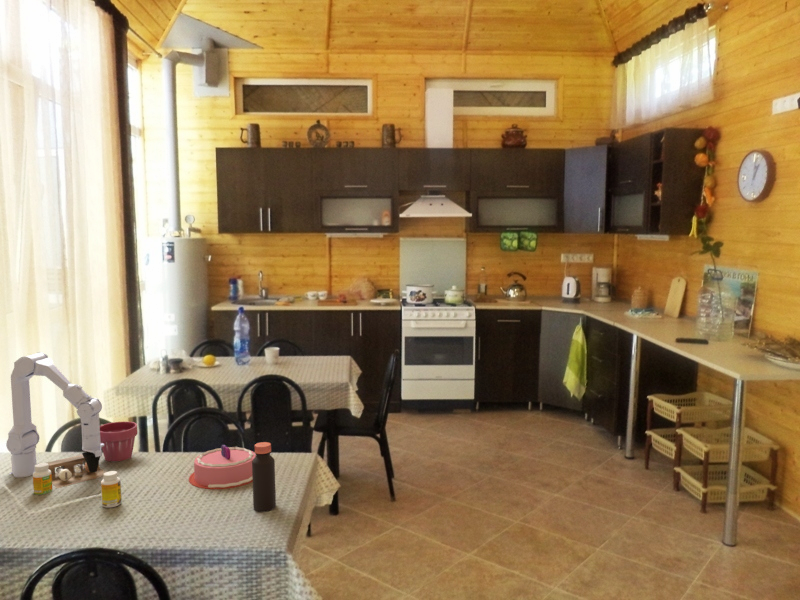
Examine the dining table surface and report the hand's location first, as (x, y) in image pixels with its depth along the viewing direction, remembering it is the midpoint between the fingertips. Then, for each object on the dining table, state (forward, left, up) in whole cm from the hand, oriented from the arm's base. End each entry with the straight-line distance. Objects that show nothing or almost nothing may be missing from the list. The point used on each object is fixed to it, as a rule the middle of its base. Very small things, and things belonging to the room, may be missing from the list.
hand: (93, 471), depth 222 cm
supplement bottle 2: (+30, -4, -2) cm, 30 cm away
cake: (+32, +34, -2) cm, 47 cm away
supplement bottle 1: (+4, -17, -2) cm, 18 cm away
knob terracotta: (-6, 0, -1) cm, 6 cm away
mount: (-3, -4, -2) cm, 6 cm away
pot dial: (-1, -4, -1) cm, 5 cm away
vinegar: (+66, +29, -2) cm, 72 cm away
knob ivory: (-3, -9, -1) cm, 10 cm away
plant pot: (-12, +13, -2) cm, 18 cm away
